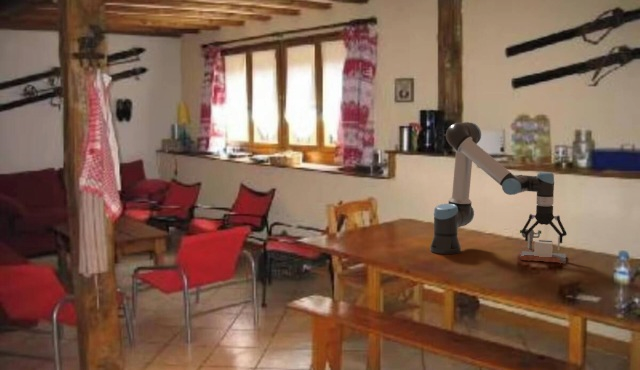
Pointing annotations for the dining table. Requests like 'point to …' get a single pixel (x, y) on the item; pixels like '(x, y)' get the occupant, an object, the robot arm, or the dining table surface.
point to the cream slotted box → (543, 248)
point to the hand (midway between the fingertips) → (543, 248)
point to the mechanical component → (531, 236)
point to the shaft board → (560, 256)
